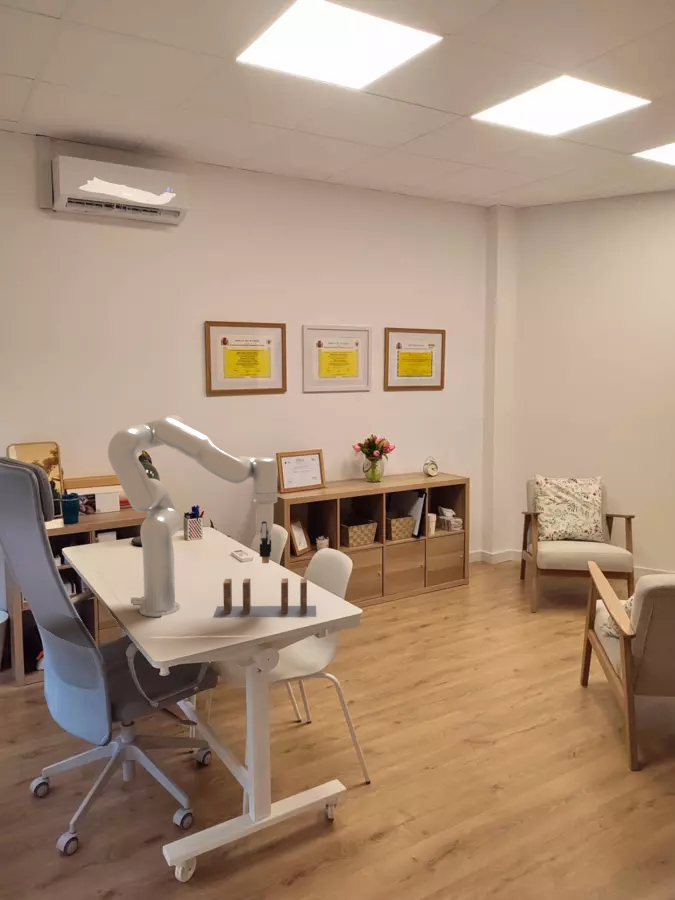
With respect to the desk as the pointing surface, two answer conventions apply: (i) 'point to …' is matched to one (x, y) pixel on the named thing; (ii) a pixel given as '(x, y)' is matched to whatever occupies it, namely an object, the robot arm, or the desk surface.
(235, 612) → the mat
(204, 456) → the robot arm
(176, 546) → the desk surface
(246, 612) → the domino
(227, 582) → the domino
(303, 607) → the domino
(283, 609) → the domino
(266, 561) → the domino
